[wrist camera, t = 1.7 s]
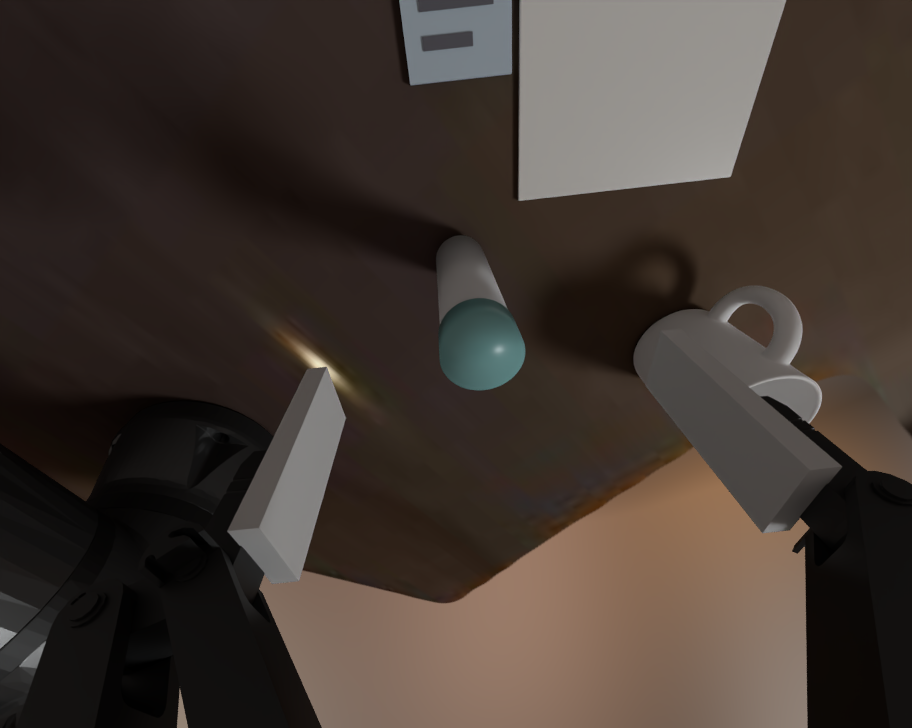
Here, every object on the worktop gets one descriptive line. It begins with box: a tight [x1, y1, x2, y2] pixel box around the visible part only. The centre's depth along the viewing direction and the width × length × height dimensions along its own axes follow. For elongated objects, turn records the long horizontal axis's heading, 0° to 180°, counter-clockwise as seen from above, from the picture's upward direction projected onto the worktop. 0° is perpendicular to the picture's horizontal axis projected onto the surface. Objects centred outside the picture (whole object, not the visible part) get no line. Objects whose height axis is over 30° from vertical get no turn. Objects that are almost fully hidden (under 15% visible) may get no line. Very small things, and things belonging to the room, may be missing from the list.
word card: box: [399, 0, 512, 85], centre depth 19 cm, size 6×5×1 cm
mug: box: [633, 286, 822, 423], centre depth 28 cm, size 12×8×10 cm
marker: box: [436, 235, 525, 390], centre depth 21 cm, size 4×4×14 cm
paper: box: [518, 0, 786, 201], centre depth 21 cm, size 15×13×1 cm
